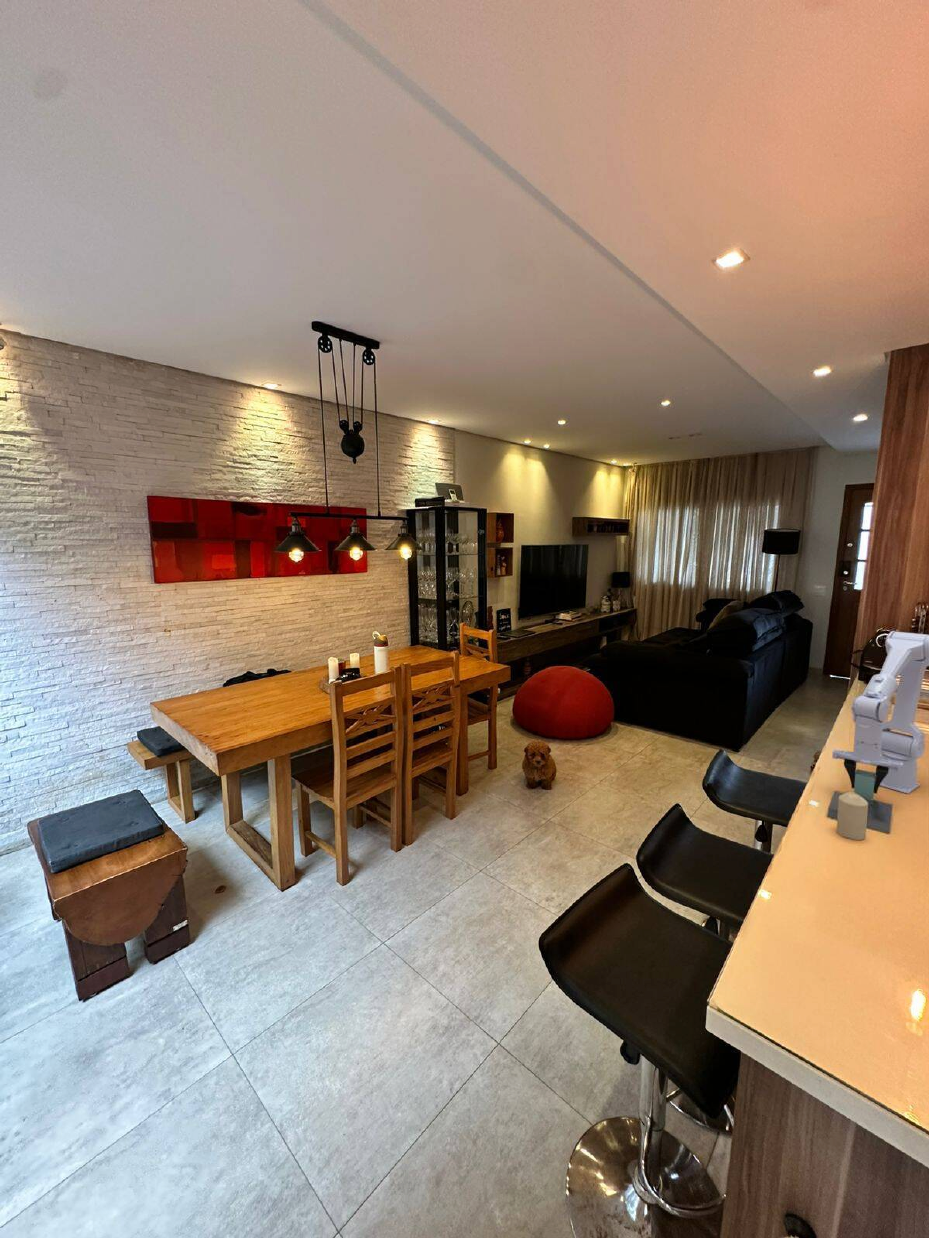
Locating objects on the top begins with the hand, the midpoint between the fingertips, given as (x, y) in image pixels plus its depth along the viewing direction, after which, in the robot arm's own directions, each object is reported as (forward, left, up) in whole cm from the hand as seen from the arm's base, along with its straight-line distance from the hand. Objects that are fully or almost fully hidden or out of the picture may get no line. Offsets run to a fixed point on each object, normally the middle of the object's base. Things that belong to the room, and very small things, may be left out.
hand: (864, 789), depth 135 cm
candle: (+21, +5, -3) cm, 22 cm away
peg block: (0, 0, -1) cm, 1 cm away
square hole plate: (+10, +3, -3) cm, 11 cm away
